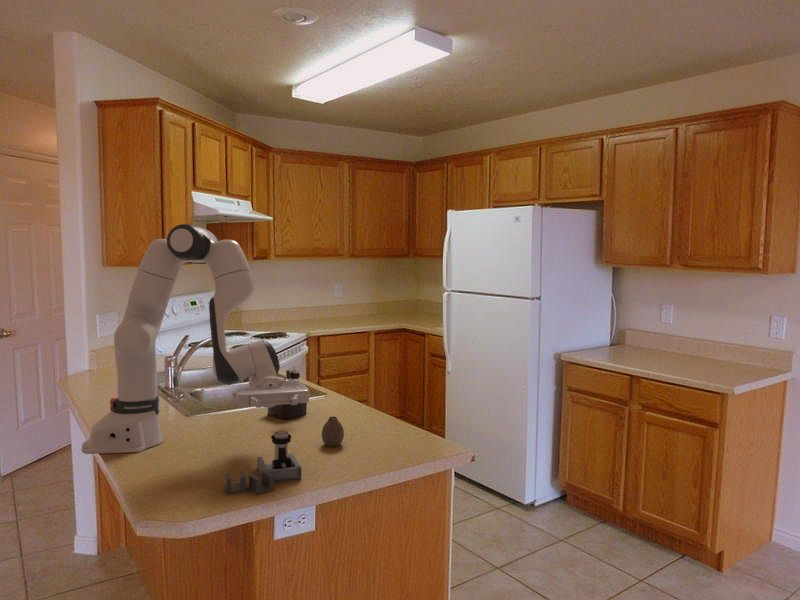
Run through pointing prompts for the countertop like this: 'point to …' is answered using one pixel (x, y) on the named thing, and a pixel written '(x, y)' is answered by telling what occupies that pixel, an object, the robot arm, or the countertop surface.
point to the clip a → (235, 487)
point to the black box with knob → (287, 409)
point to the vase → (332, 432)
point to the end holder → (281, 470)
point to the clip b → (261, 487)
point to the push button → (281, 450)
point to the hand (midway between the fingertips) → (276, 403)
